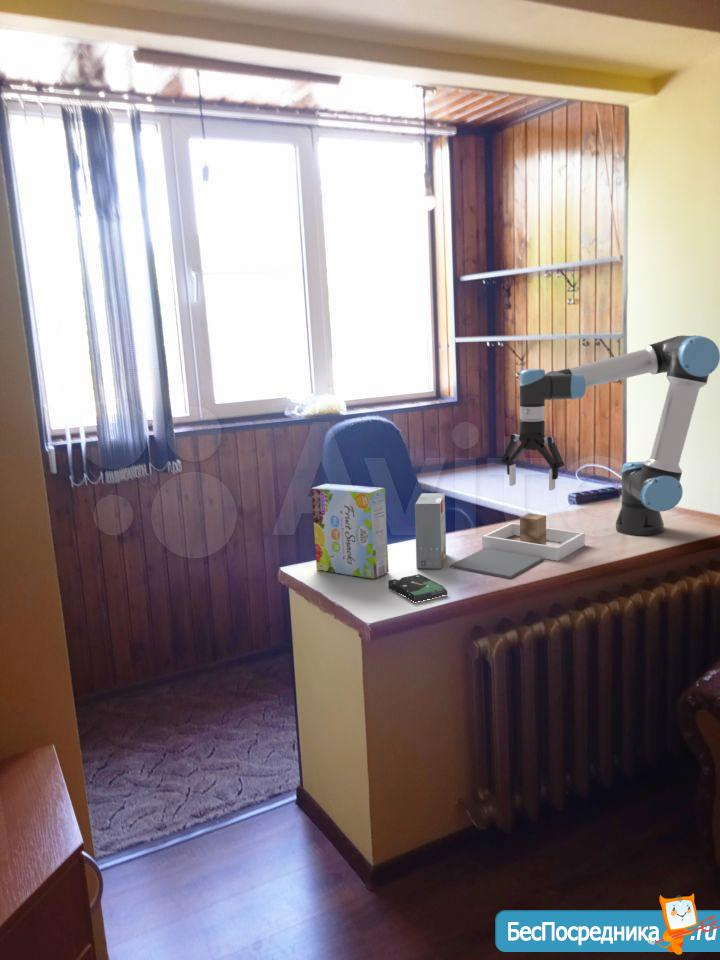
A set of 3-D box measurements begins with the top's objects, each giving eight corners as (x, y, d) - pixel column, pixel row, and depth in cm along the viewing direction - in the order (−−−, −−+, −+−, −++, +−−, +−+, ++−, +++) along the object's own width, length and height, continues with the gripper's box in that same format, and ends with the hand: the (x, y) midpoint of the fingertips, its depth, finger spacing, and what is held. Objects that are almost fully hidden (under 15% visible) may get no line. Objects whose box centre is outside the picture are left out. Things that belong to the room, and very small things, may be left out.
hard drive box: (442, 569, 224) (439, 504, 220) (416, 569, 226) (413, 504, 222) (446, 554, 239) (444, 492, 235) (422, 553, 241) (420, 492, 237)
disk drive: (387, 590, 211) (415, 605, 198) (387, 580, 211) (414, 595, 198) (419, 582, 216) (448, 597, 203) (419, 573, 215) (448, 587, 202)
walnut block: (546, 545, 242) (546, 515, 240) (537, 550, 238) (537, 519, 236) (529, 543, 246) (528, 513, 244) (520, 547, 242) (519, 517, 240)
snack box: (390, 572, 225) (387, 487, 220) (374, 580, 218) (370, 493, 213) (331, 562, 237) (326, 481, 232) (314, 570, 230) (309, 487, 225)
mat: (543, 560, 228) (543, 557, 228) (510, 578, 213) (510, 576, 213) (485, 550, 241) (485, 547, 241) (450, 567, 226) (450, 564, 226)
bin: (584, 545, 241) (584, 532, 240) (557, 560, 227) (557, 548, 226) (511, 534, 257) (511, 522, 257) (482, 548, 243) (481, 536, 242)
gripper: (490, 419, 239) (491, 485, 243) (564, 423, 223) (564, 493, 227) (502, 416, 245) (502, 481, 249) (575, 420, 229) (574, 489, 233)
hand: (532, 487), depth 238 cm, fingers open, 13 cm apart
